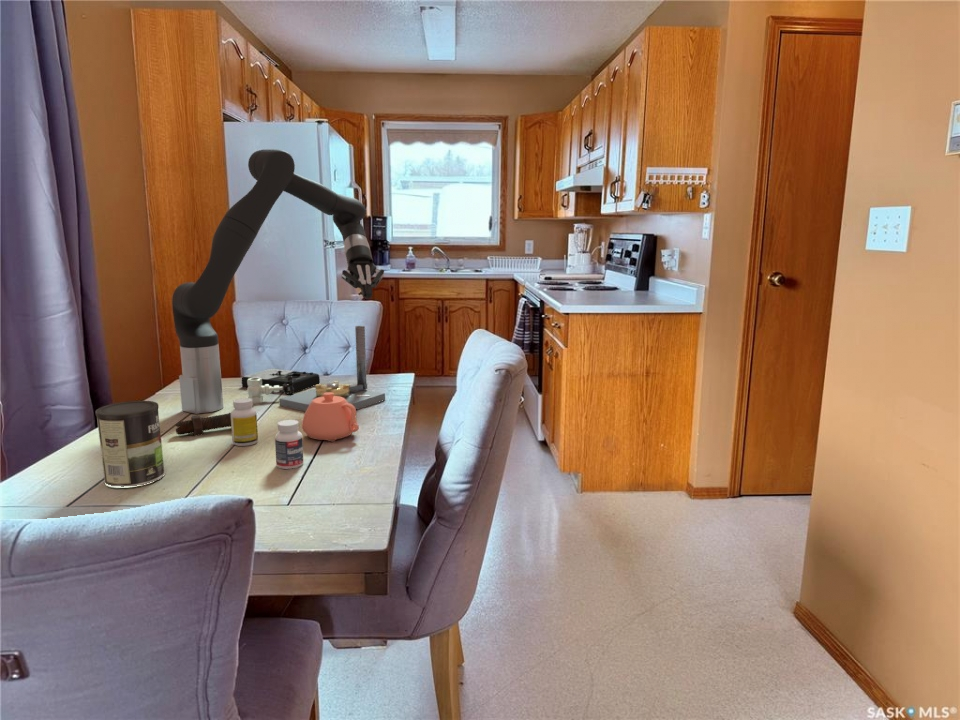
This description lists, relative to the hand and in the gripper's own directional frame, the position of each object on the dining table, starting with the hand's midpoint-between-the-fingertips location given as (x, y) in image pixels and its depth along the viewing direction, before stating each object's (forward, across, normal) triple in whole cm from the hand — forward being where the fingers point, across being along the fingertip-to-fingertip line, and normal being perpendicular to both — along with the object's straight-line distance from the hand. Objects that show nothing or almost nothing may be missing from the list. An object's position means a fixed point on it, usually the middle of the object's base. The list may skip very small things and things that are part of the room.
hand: (368, 297), depth 182 cm
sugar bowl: (+47, -18, -7) cm, 51 cm away
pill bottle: (+58, -29, -18) cm, 67 cm away
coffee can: (+56, -57, -15) cm, 81 cm away
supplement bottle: (+45, -37, -5) cm, 58 cm away
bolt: (+37, -44, +3) cm, 57 cm away
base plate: (+26, -13, +14) cm, 32 cm away
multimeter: (+8, -24, +32) cm, 41 cm away
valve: (+20, -28, +20) cm, 40 cm away
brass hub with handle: (+24, -10, +13) cm, 28 cm away
